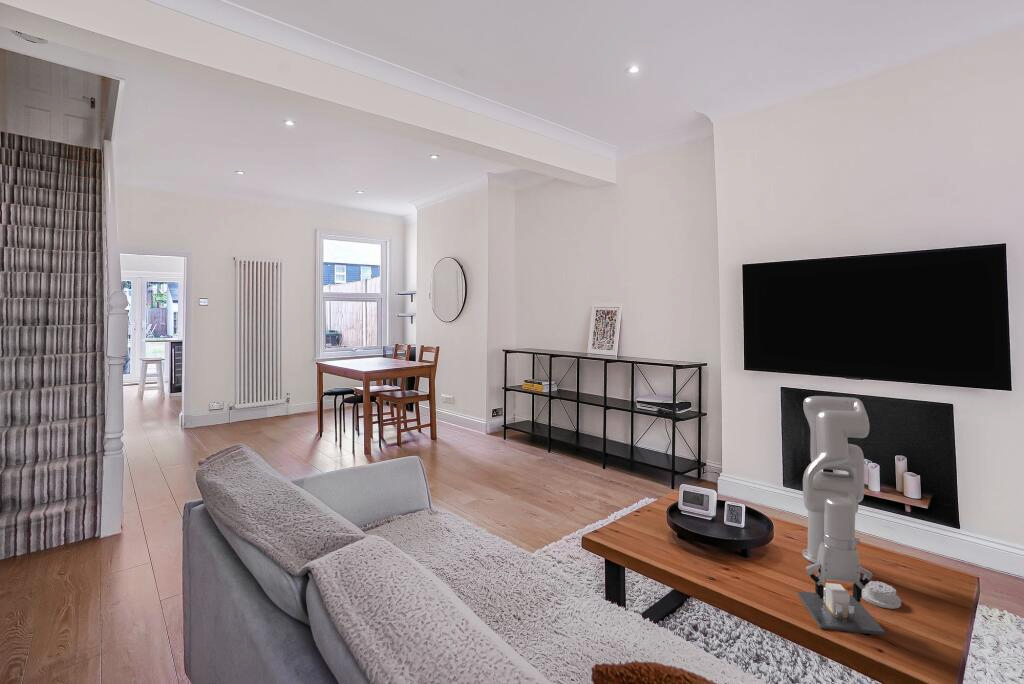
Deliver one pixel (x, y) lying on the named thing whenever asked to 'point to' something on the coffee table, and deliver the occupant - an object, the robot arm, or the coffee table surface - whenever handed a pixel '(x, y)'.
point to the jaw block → (837, 597)
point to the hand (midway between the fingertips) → (838, 597)
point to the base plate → (840, 624)
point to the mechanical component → (881, 595)
